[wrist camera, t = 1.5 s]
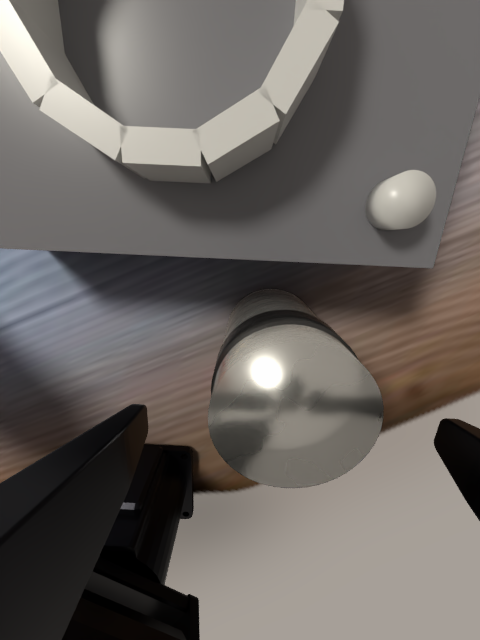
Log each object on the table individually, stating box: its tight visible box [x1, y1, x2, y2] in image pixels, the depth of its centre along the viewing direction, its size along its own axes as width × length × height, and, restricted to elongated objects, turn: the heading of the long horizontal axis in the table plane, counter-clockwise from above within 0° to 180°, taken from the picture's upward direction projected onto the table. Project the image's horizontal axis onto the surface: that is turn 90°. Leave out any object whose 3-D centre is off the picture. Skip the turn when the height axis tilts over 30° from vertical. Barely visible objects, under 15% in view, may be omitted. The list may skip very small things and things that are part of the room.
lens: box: [208, 289, 383, 488], centre depth 11 cm, size 5×5×8 cm
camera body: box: [0, 0, 480, 268], centre depth 9 cm, size 13×18×7 cm
